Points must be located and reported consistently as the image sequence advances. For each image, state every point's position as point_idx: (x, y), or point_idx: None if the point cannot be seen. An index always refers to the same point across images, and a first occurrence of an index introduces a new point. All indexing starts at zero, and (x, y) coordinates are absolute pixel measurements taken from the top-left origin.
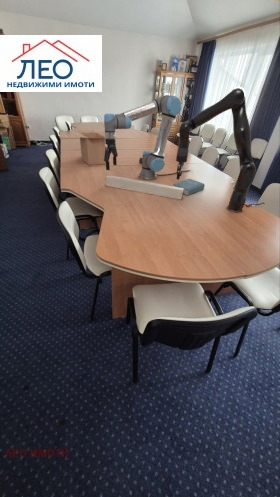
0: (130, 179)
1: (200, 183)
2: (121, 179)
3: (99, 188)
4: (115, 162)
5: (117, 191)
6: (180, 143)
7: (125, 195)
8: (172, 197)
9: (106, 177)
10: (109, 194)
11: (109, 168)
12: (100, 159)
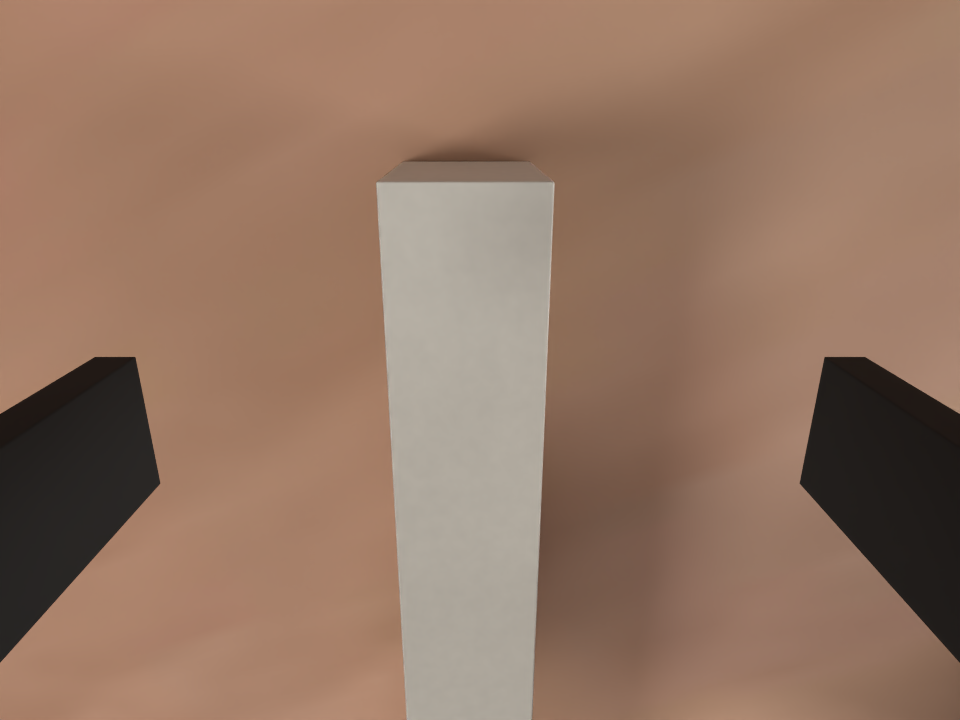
0: (498, 705)
1: None
2: (403, 575)
3: (192, 96)
4: (874, 524)
5: (265, 457)
6: None
7: (196, 605)
8: None
9: (379, 196)
10: None
11: (117, 519)
12: None
